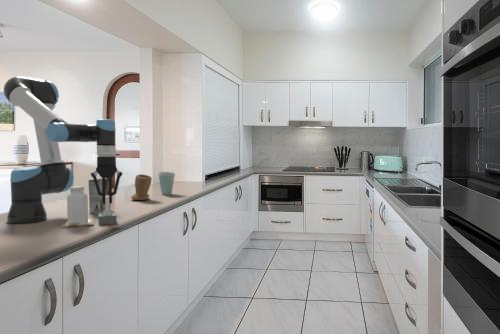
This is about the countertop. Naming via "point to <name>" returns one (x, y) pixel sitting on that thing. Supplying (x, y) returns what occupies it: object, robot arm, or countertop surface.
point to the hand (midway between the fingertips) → (107, 211)
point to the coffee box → (97, 196)
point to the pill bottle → (77, 205)
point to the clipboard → (88, 223)
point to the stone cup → (142, 187)
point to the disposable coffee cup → (166, 182)
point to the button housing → (107, 219)
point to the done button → (106, 213)
